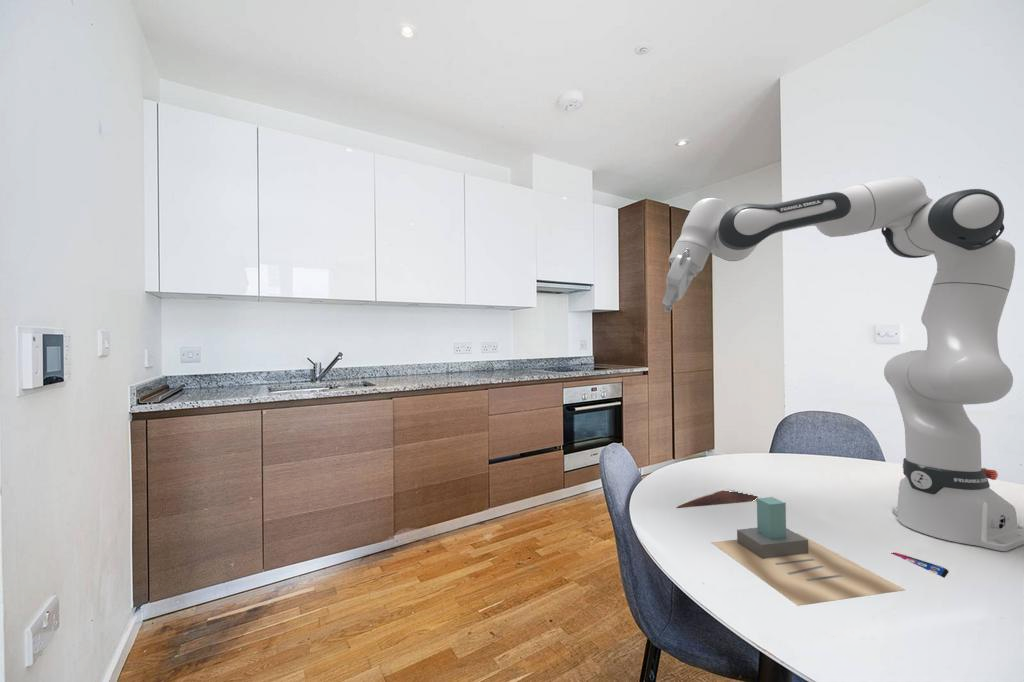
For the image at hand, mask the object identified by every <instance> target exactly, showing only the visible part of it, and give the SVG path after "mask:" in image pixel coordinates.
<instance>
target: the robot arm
mask: <svg viewBox="0 0 1024 682" xmlns="http://www.w3.org/2000/svg"><path fill="white" fill-rule="evenodd" d="M1004 219H1005V209H1004V204H1003V203H1002V200H1001V198H1000V197H998V195H996V194H995V193H993V192H992V191H989V190H987V189H981V188H969V189H963V190H959V191H958V190H957V191H955V192H952V193H951V192H950V193H949V194H946V195H944V196H942V197H941V198H938V199H935V200H934V199H932V198H930V197H929V195H927V189H926V187H925V184H924V183H923V182H922V181H921V180H920V179H918V178H917V177H913V176H909V175H906V176H904V175H903V176H897V177H896V176H895V177H889V178H888V177H887V178H881V179H876V180H871V181H867V182H862V183H858V184H854V185H851V186H848V187H844V188H841V189H836V190H834V191H831V192H826V193H820V194H815V195H811V196H805V197H801V198H796V199H792V200H788V201H781V202H778V203H770V204H762V203H743V204H737V205H734V207H730V206H729V204H728V202H727V201H726V200H724V199H722V198H718V197H706V198H702V199H700V200H699V201H697V202H696V203H695V204H694V205H693V206H692V208H691V209H690V210H689V213H688V215H687V216H686V218H685V221H684V222H683V225H682V227H681V233H680V236H679V238H678V239H677V240H676V241H675V244H674V246H673V248H672V250H671V253H670V254H669V257H668V259H667V260H668V262H669V263H670V269H669V271H668V273H667V275H666V277H665V282H666V290H665V293H664V297H663V299H662V302H661V303H662V304H663V305H664V307H663V311H664V312H666V313H670V312H671V311H672V310H673V307H674V305H675V303H676V302H677V301H681V300H682V299H683V297H684V295H685V294H686V292H687V290H688V288H689V287H690V285H691V283H692V281H693V280H694V277H697V276H698V274H699V273H700V272H702V271H703V269H704V267H705V265H706V263H707V260H708V258H709V256H710V254H711V255H713V256H715V257H718V258H720V259H723V261H724V260H725V261H727V262H739V261H741V260H744V259H746V258H747V257H748V256H749V255H750V254H752V253H753V251H754V250H755V249H756V248H757V247H758V245H759V244H760V243H761V242H763V241H764V240H765V239H767V238H768V237H770V236H772V235H775V234H777V233H782V232H788V231H791V230H796V229H801V228H806V227H813V226H815V227H816V229H817V230H818V231H819V232H820V233H821V234H823V235H825V236H827V237H829V238H835V237H838V238H839V237H848V236H853V235H857V234H858V235H859V234H861V233H862V234H863V233H866V232H870V231H874V230H880V229H881V234H882V235H883V237H884V239H885V243H886V246H887V247H888V249H889V250H890V251H891V252H892V253H893V254H894V255H896V256H897V257H902V258H906V259H919V258H924V257H929V256H932V255H933V257H934V258H935V261H936V274H935V276H934V279H933V280H932V281H933V282H932V283H931V286H930V289H929V293H928V295H927V299H926V302H925V305H924V309H923V312H922V314H921V316H920V317H921V323H922V325H923V326H924V327H925V329H926V334H927V337H926V338H927V339H926V340H927V347H926V350H922V349H920V350H917V349H916V350H911V351H910V350H909V351H906V352H902V353H899V354H898V355H895V356H892V357H891V358H890V359H889V360H888V361H887V362H886V363H885V365H884V370H883V375H884V378H885V380H886V382H887V383H888V384H889V385H890V387H891V389H893V390H892V391H893V392H894V395H895V399H896V400H897V404H898V407H899V409H900V414H901V417H902V421H903V425H904V442H905V443H904V444H905V457H904V458H903V461H902V470H903V471H902V472H903V475H904V476H905V477H904V478H901V479H900V480H899V485H898V492H897V493H898V494H897V503H896V504H897V505H896V506H893V507H892V510H891V511H892V513H893V514H895V515H896V519H897V521H898V522H899V523H900V524H901V525H903V526H905V527H907V528H909V529H911V530H914V531H916V532H918V533H922V534H925V535H928V536H931V537H934V538H938V539H941V540H946V541H950V542H955V543H959V544H965V545H971V546H977V547H978V546H979V547H983V548H986V549H991V550H995V551H999V552H1008V551H1010V550H1012V549H1015V548H1018V547H1019V546H1022V545H1024V527H1023V526H1020V525H1018V517H1017V510H1016V508H1015V506H1014V505H1013V504H1012V503H1010V502H1009V501H1008V500H1007V499H1005V498H1004V497H1002V496H1001V495H999V494H998V493H997V492H995V491H994V490H993V489H991V488H990V487H991V485H990V482H989V479H990V480H992V481H995V480H996V481H997V479H998V478H999V477H998V476H999V474H998V472H997V470H996V469H988V468H986V467H982V445H981V443H982V441H981V432H980V431H979V429H978V427H977V426H976V425H975V424H974V423H973V422H972V420H971V419H970V418H969V416H968V414H967V412H966V410H965V408H964V406H963V405H966V406H967V405H981V404H989V403H990V404H991V403H994V402H997V401H999V400H1001V399H1003V398H1004V397H1005V396H1007V394H1009V392H1010V391H1011V389H1012V387H1013V384H1014V378H1013V377H1014V376H1013V373H1012V371H1011V369H1010V367H1009V366H1008V365H1007V364H1006V363H1004V361H1003V360H1002V358H1001V355H1000V350H999V343H998V339H999V338H998V332H999V326H1000V325H999V324H1000V321H1001V317H1002V314H1003V311H1004V308H1005V306H1006V303H1007V302H1006V301H1007V299H1008V297H1009V296H1008V295H1009V293H1010V289H1011V286H1012V283H1013V279H1014V272H1015V265H1016V264H1015V263H1016V250H1015V249H1016V248H1015V247H1014V245H1012V243H1010V242H1009V241H1007V240H1004V239H1001V238H999V237H1000V236H1001V235H1002V234H1003V232H1004V231H1005V224H1004V223H1003V222H1004Z"/></svg>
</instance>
